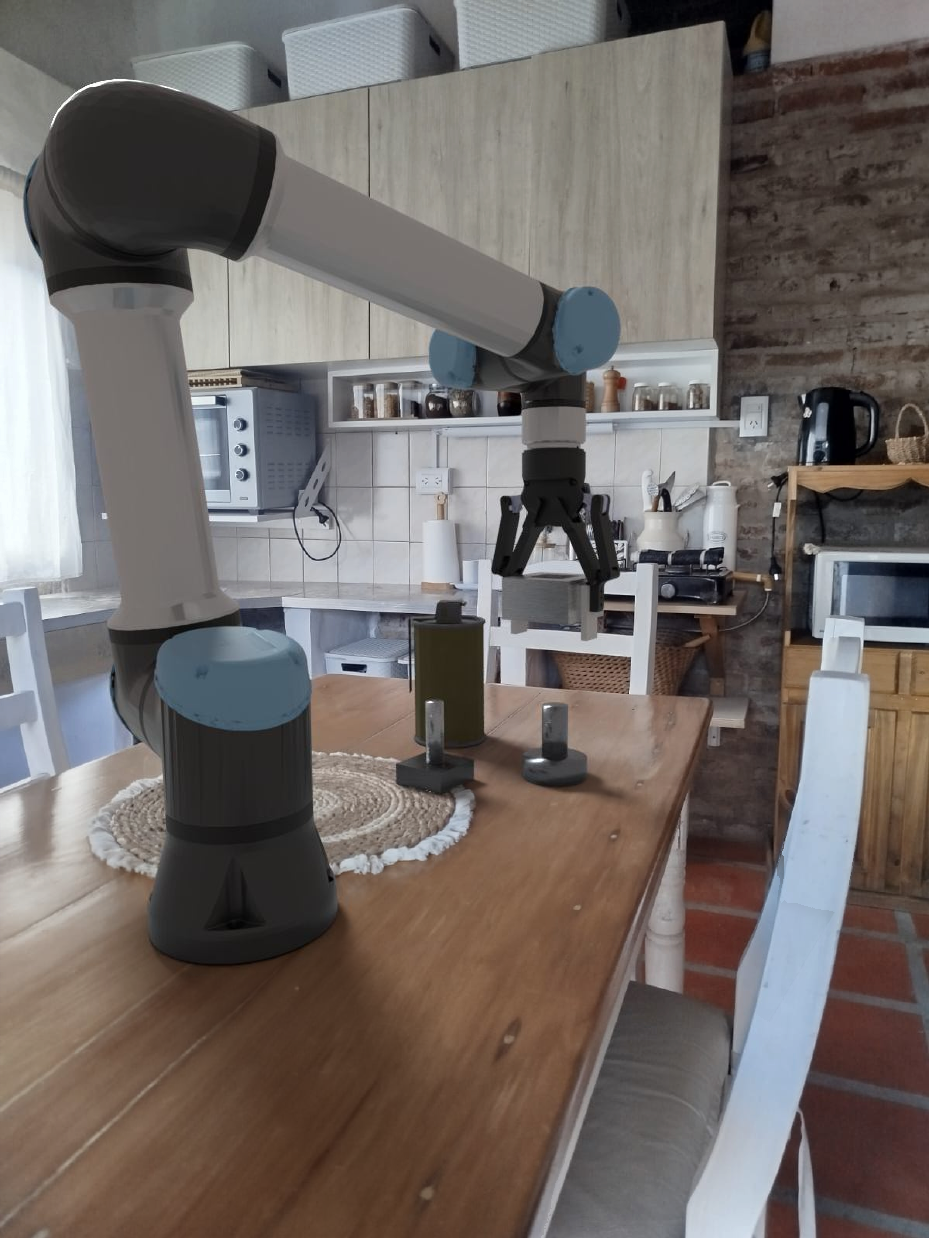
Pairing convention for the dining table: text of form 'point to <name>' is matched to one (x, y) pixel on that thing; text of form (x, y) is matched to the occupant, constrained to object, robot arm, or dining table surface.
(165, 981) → the dining table surface
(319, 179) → the robot arm
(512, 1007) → the dining table surface
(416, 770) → the stand
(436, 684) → the canister
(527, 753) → the cylinder
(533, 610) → the grey square ring block
